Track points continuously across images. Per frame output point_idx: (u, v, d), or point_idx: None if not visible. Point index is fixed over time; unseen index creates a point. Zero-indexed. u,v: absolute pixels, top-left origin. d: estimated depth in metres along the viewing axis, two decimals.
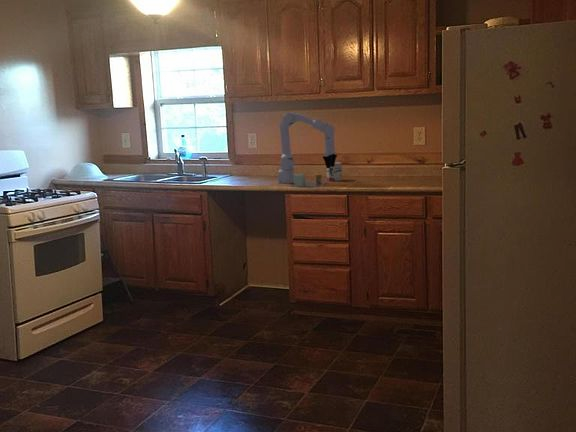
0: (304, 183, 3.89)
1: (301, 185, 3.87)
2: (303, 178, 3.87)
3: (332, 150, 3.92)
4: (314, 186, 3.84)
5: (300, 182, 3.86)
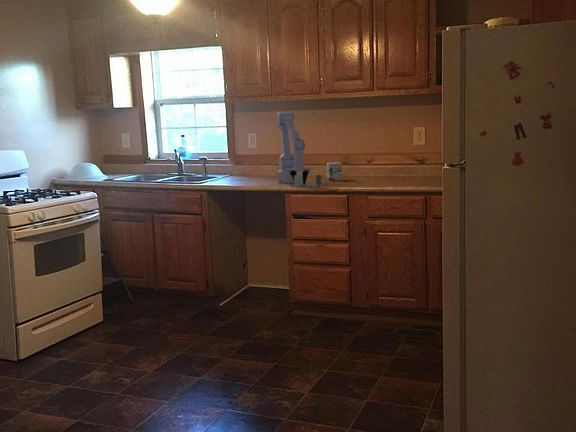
0: None
1: (301, 185, 3.87)
2: None
3: (295, 166, 3.86)
4: (314, 186, 3.84)
5: (300, 182, 3.86)
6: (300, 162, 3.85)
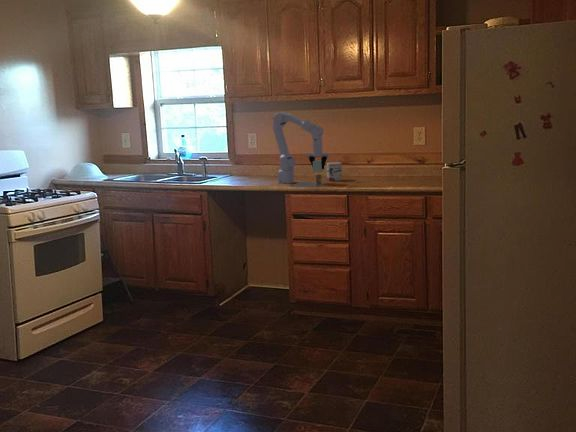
0: (322, 169, 3.96)
1: (320, 171, 3.93)
2: (321, 164, 3.94)
3: (314, 152, 3.93)
4: (314, 186, 3.84)
5: (319, 167, 3.93)
6: (319, 148, 3.91)
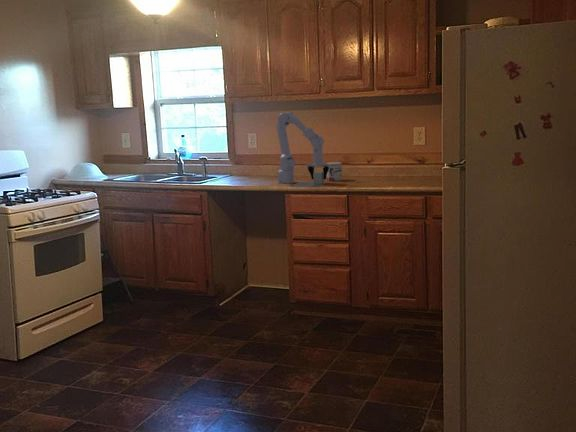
0: (323, 180, 3.97)
1: (320, 182, 3.95)
2: (322, 175, 3.95)
3: (314, 162, 3.94)
4: (314, 186, 3.84)
5: (319, 179, 3.94)
6: (319, 158, 3.93)
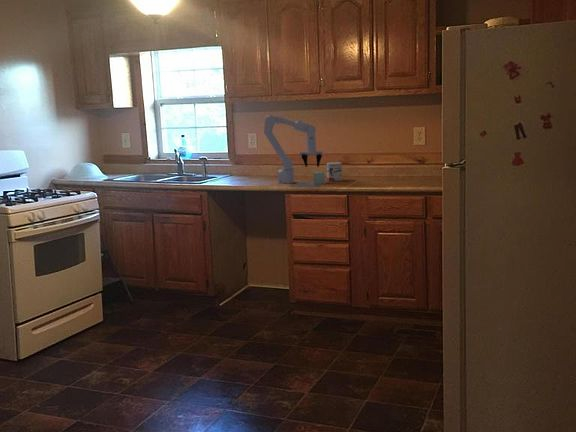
0: (323, 180, 3.97)
1: (320, 182, 3.95)
2: (322, 175, 3.95)
3: (307, 150, 4.04)
4: (314, 186, 3.84)
5: (319, 179, 3.94)
6: (312, 146, 4.02)
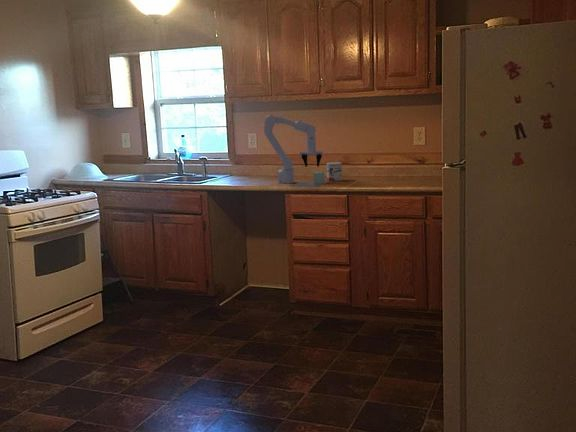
0: (323, 180, 3.97)
1: (320, 182, 3.95)
2: (322, 175, 3.95)
3: (307, 150, 4.04)
4: (314, 186, 3.84)
5: (319, 179, 3.94)
6: (312, 146, 4.02)
